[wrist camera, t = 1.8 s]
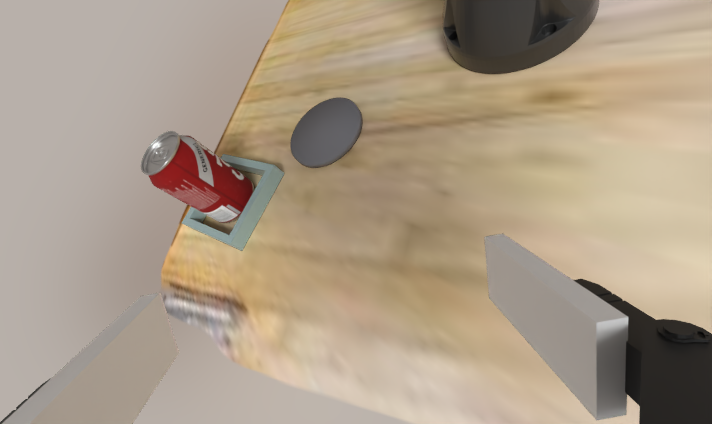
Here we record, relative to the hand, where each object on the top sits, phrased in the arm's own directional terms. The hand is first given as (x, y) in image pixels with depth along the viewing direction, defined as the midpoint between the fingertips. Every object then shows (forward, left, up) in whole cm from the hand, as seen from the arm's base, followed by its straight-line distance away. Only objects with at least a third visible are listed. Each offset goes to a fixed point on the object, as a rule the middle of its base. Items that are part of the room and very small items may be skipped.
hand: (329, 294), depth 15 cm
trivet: (-18, -24, -18) cm, 35 cm away
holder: (-6, -33, -18) cm, 38 cm away
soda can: (-6, -33, -18) cm, 38 cm away
